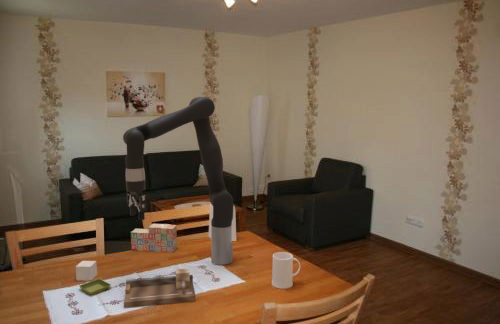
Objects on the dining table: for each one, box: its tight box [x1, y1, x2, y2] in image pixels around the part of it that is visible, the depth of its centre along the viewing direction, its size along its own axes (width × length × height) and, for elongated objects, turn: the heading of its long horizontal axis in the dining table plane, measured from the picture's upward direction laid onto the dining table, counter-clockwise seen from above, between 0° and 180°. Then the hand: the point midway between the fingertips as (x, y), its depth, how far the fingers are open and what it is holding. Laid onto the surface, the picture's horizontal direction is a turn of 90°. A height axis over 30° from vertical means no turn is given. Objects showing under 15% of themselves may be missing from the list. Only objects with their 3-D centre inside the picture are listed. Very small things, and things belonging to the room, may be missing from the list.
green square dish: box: [78, 278, 112, 295], centre depth 154 cm, size 9×9×2 cm
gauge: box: [175, 268, 191, 294], centre depth 150 cm, size 5×9×6 cm, turn 13°
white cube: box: [75, 260, 98, 282], centre depth 164 cm, size 6×6×6 cm
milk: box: [208, 203, 237, 242], centre depth 211 cm, size 12×12×26 cm
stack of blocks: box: [130, 223, 178, 253], centre depth 196 cm, size 21×6×12 cm, turn 83°
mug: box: [271, 251, 301, 290], centre depth 160 cm, size 12×8×12 cm
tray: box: [123, 274, 196, 309], centre depth 149 cm, size 25×13×4 cm, turn 103°
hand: (137, 217), depth 163 cm, fingers open, 8 cm apart
